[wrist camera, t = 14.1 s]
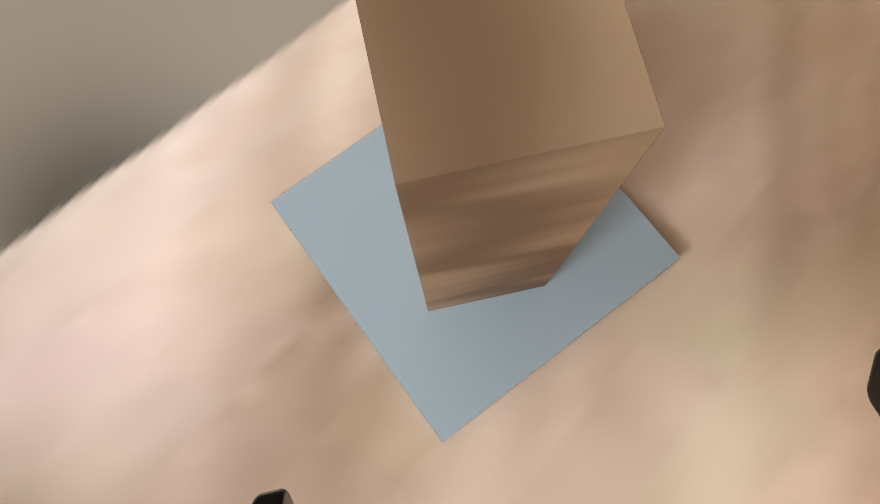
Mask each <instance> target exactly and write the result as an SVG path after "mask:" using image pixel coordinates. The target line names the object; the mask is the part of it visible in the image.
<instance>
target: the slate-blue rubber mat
mask: <svg viewBox="0 0 880 504" xmlns="http://www.w3.org/2000/svg"><path fill="white" fill-rule="evenodd" d="M271 204H272V205H273V206H274V208H275V209H276V211H277V212H278V213H279V215H280V216H281V218H282V219H283V220H284V222H285V223H286V225H287V226H288V227H289V229H290V230H291V232H292V233H293V234H294V236H295V237H296V239H297V240H298V241H299V243H300V244H301V246H302V247H303V248H304V250H305V251H306V253H307V254H308V255H309V257H310V258H311V260H312V261H313V262H314V264H315V265H316V267H317V268H318V269H319V271H320V272H321V274H322V275H323V276H324V278H325V279H326V281H327V282H328V283H329V285H330V286H331V288H332V289H333V290H334V292H335V293H336V295H337V296H338V297H339V299H340V300H341V302H342V303H343V304H344V306H345V307H346V309H347V310H348V311H349V313H350V314H351V316H352V317H353V318H354V320H355V321H356V323H357V324H358V325H359V327H360V328H361V330H362V331H363V332H364V334H365V335H366V337H367V338H368V339H369V341H370V342H371V344H372V345H373V346H374V348H375V349H376V351H377V352H378V353H379V355H380V356H381V358H382V359H383V360H384V362H385V363H386V365H387V366H388V367H389V369H390V370H391V372H392V373H393V374H394V376H395V377H396V378H397V380H398V381H399V383H400V384H401V385H402V387H403V388H404V390H405V391H406V392H407V394H408V395H409V397H410V398H411V399H412V401H413V402H414V404H415V405H416V406H417V408H418V409H419V411H420V412H421V413H422V415H423V416H424V418H425V419H426V420H427V422H428V423H429V425H430V426H431V427H432V429H433V430H434V432H435V433H436V434H437V436H438V437H439V439H440V440H441V441H442V442H443V441H444V440H446V439H447V438H448V437H450V436H451V435H452V434H453V433H455V432H456V431H457V430H459V429H460V428H461V427H463V426H464V425H465V424H466V423H468V422H469V421H470V420H472V419H473V418H474V417H475V416H477V415H478V414H479V413H481V412H482V411H483V410H484V409H486V408H487V407H488V406H490V405H491V404H492V403H493V402H495V401H496V400H497V399H499V398H500V397H501V396H503V395H504V394H505V393H506V392H508V391H509V390H510V389H512V388H513V387H514V386H515V385H517V384H518V383H519V382H521V381H522V380H523V379H524V378H526V377H527V376H528V375H530V374H531V373H532V372H533V371H535V370H536V369H537V368H539V367H540V366H541V365H543V364H544V363H545V362H546V361H548V360H549V359H550V358H552V357H553V356H554V355H555V354H557V353H558V352H559V351H561V350H562V349H563V348H564V347H566V346H567V345H568V344H570V343H571V342H572V341H573V340H575V339H576V338H577V337H579V336H580V335H581V334H583V333H584V332H585V331H586V330H588V329H589V328H590V327H592V326H593V325H594V324H595V323H597V322H598V321H599V320H601V319H602V318H603V317H604V316H606V315H607V314H608V313H610V312H611V311H612V310H613V309H615V308H616V307H617V306H619V305H620V304H621V303H623V302H624V301H625V300H626V299H628V298H629V297H630V296H632V295H633V294H634V293H635V292H637V291H638V290H639V289H641V288H642V287H643V286H644V285H646V284H647V283H648V282H650V281H651V280H652V279H653V278H655V277H656V276H657V275H659V274H660V273H661V272H663V271H664V270H665V269H666V268H668V267H669V266H670V265H672V264H673V263H674V262H675V261H677V260H678V259H679V258H680V256H679V255H678V254H677V253H676V252H675V251H674V249H673V248H672V247H671V246H670V245H669V244H668V243H667V241H666V240H665V239H664V238H663V237H662V236H661V234H660V233H659V232H658V231H657V230H656V229H655V227H654V226H653V225H652V224H651V223H650V222H649V221H648V219H647V218H646V217H645V216H644V215H643V214H642V212H641V211H640V210H639V209H638V208H637V207H636V205H635V204H634V203H633V202H632V201H631V200H630V199H629V197H628V196H627V195H626V194H625V193H624V192H623V190H622V189H621V188H620V187H619V189H618V190H617V191H616V193H615V194H614V195H613V197H612V198H611V199H610V201H609V202H608V203H607V204H606V206H605V207H604V208H603V210H602V211H601V212H600V214H599V215H598V216H597V218H596V219H595V220H594V222H593V223H592V224H591V226H590V227H589V228H588V230H587V231H586V232H585V234H584V235H583V236H582V238H581V239H580V240H579V242H578V243H577V244H576V246H575V247H574V248H573V250H572V251H571V252H570V253H569V255H568V256H567V257H566V259H565V260H564V261H563V263H562V264H561V265H560V267H559V268H558V269H557V271H556V272H555V273H554V275H553V276H552V277H551V279H550V280H549V281H548V283H547V284H546V285H545V286H542V287H538V288H533V289H528V290H524V291H519V292H515V293H510V294H506V295H501V296H497V297H492V298H488V299H483V300H478V301H474V302H469V303H465V304H460V305H456V306H451V307H447V308H442V309H438V310H433V311H428V309H427V305H426V302H425V298H424V294H423V290H422V286H421V282H420V279H419V275H418V271H417V267H416V263H415V259H414V256H413V252H412V248H411V244H410V240H409V236H408V233H407V229H406V225H405V221H404V217H403V213H402V210H401V206H400V202H399V198H398V194H397V190H396V187H395V182H394V178H393V173H392V168H391V164H390V159H389V154H388V150H387V145H386V140H385V135H384V131H383V126H380V127H379V128H377V129H376V130H374V131H373V132H371V133H370V134H369V135H367V136H366V137H364V138H363V139H361V140H360V141H358V142H357V143H355V144H354V145H353V146H351V147H350V148H348V149H347V150H345V151H344V152H342V153H341V154H339V155H338V156H337V157H335V158H334V159H332V160H331V161H329V162H328V163H326V164H325V165H323V166H322V167H321V168H319V169H318V170H316V171H315V172H313V173H312V174H310V175H309V176H307V177H306V178H305V179H303V180H302V181H300V182H299V183H297V184H296V185H294V186H293V187H291V188H290V189H289V190H287V191H286V192H284V193H283V194H281V195H280V196H278V197H277V198H275V199H274V200H273V201H271Z"/></svg>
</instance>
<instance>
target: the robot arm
mask: <svg viewBox="0 0 880 504" xmlns="http://www.w3.org/2000/svg"><path fill="white" fill-rule="evenodd" d="M867 393H868V397H869V399H870V402H871V404H872V405H873V407H874V408H875V410H876V411H877V413H878V414H879V416H880V349H879V350H878V351H877V352H876V354H875V356H874V360H873V364H872V368H871V372H870V376H869V380H868V384H867ZM252 504H294V503H293V501H292V499H291V496H290V494H289V493H288V491H287V490H285V489H278V490H274V491H269V492H265V493H262V494H259V495H258V496H257V497H256V498H255V499H254V501H253V503H252Z"/></svg>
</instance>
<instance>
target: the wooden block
mask: <svg viewBox="0 0 880 504" xmlns="http://www.w3.org/2000/svg"><path fill="white" fill-rule="evenodd" d="M356 4H357V9H358V14H359V18H360V23H361V28H362V32H363V37H364V42H365V46H366V51H367V56H368V60H369V65H370V70H371V74H372V79H373V84H374V89H375V93H376V98H377V103H378V107H379V112H380V117H381V121H382V126H383V131H384V135H385V140H386V145H387V150H388V154H389V159H390V164H391V168H392V173H393V178H394V182H395V187H396V190H397V194H398V198H399V202H400V206H401V210H402V213H403V217H404V221H405V225H406V229H407V233H408V236H409V240H410V244H411V248H412V252H413V256H414V259H415V263H416V267H417V271H418V275H419V279H420V282H421V286H422V290H423V294H424V298H425V302H426V305H427V309H428V311H433V310H438V309H442V308H447V307H451V306H456V305H460V304H465V303H469V302H474V301H478V300H483V299H488V298H492V297H497V296H501V295H506V294H510V293H515V292H519V291H524V290H528V289H533V288H538V287H542V286H545V285H546V284H547V283H548V281H549V280H550V279H551V277H552V276H553V275H554V273H555V272H556V271H557V269H558V268H559V267H560V265H561V264H562V263H563V261H564V260H565V259H566V257H567V256H568V255H569V253H570V252H571V251H572V250H573V248H574V247H575V246H576V244H577V243H578V242H579V240H580V239H581V238H582V236H583V235H584V234H585V232H586V231H587V230H588V228H589V227H590V226H591V224H592V223H593V222H594V220H595V219H596V218H597V216H598V215H599V214H600V212H601V211H602V210H603V208H604V207H605V206H606V204H607V203H608V202H609V201H610V199H611V198H612V197H613V195H614V194H615V193H616V191H617V190H618V189H619V187H620V186H621V185H622V183H623V182H624V181H625V179H626V178H627V177H628V175H629V174H630V173H631V171H632V170H633V169H634V167H635V166H636V165H637V163H638V162H639V161H640V159H641V158H642V157H643V155H644V154H645V153H646V151H647V150H648V149H649V148H650V146H651V145H652V144H653V142H654V141H655V140H656V138H657V137H658V136H659V134H660V133H661V132H662V130H663V129H664V128H665V125H664V122H663V119H662V116H661V112H660V109H659V106H658V103H657V100H656V97H655V94H654V91H653V88H652V85H651V82H650V79H649V76H648V73H647V70H646V67H645V64H644V61H643V58H642V54H641V51H640V48H639V45H638V42H637V39H636V36H635V33H634V30H633V27H632V24H631V21H630V18H629V15H628V12H627V9H626V6H625V3H624V0H356Z"/></svg>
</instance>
